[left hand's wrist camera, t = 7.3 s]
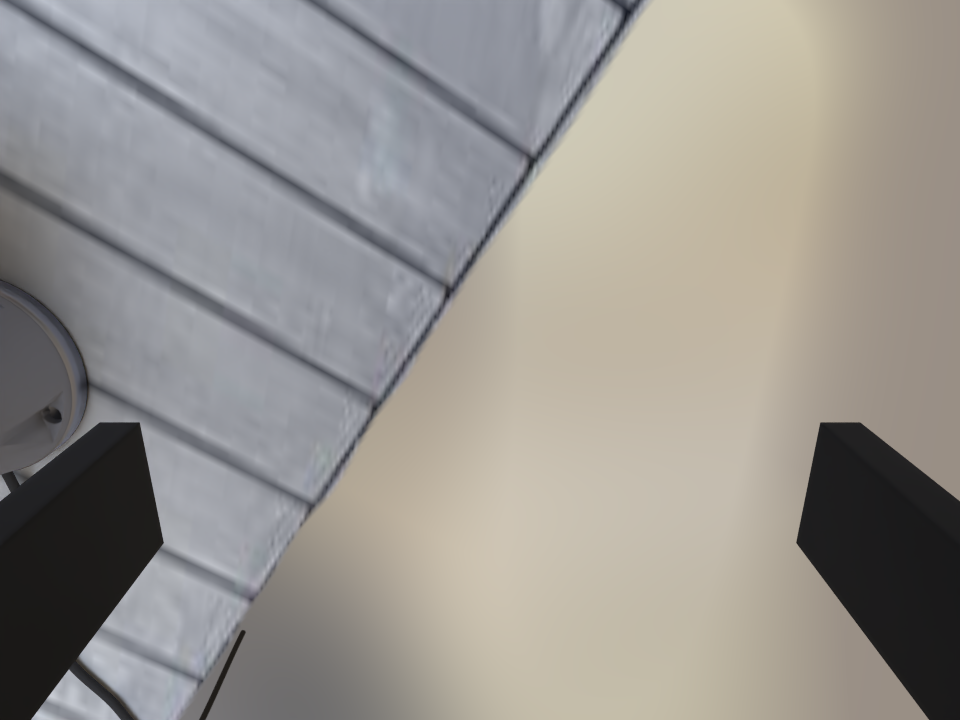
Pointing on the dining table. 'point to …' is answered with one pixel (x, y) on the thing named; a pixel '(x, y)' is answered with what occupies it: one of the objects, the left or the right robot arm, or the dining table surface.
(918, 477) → the left robot arm
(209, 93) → the dining table surface
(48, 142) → the dining table surface
